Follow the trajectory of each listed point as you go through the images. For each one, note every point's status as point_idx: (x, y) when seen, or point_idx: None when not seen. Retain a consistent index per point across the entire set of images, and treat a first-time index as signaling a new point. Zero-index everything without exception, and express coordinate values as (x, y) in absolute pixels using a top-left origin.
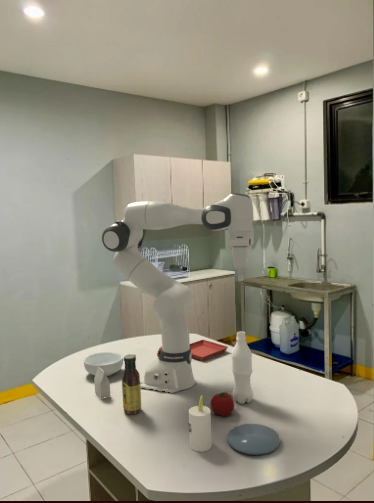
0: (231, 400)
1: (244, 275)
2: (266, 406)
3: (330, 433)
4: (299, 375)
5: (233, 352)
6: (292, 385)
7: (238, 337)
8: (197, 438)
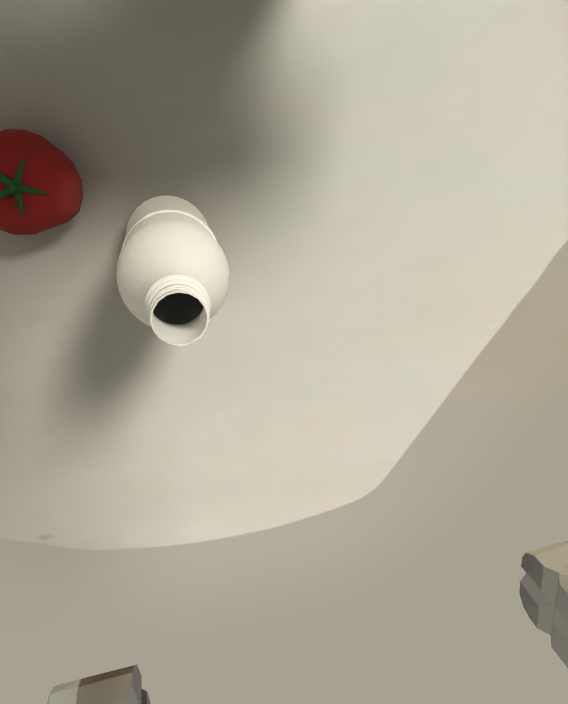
0: (15, 230)
1: (533, 615)
2: None
3: (49, 510)
4: (424, 380)
5: (137, 245)
6: (338, 372)
7: (153, 298)
8: None
